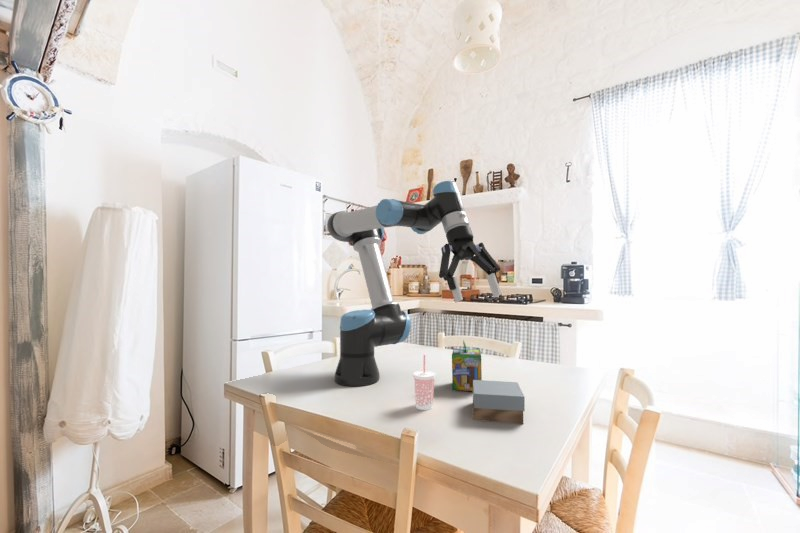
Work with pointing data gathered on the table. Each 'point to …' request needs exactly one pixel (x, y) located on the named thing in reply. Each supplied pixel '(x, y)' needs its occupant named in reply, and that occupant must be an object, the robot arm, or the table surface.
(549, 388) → the table surface
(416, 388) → the beverage cup
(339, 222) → the robot arm
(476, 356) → the chalk box
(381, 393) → the table surface
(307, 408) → the table surface
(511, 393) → the slate top slab
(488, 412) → the walnut base slab
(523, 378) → the table surface
